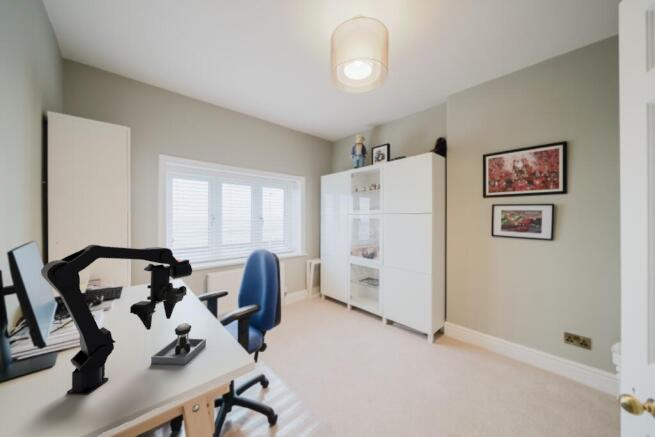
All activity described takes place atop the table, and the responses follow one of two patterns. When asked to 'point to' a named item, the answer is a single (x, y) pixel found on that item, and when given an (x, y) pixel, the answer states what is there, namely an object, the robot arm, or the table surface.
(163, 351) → the tray
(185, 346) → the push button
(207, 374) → the table surface
